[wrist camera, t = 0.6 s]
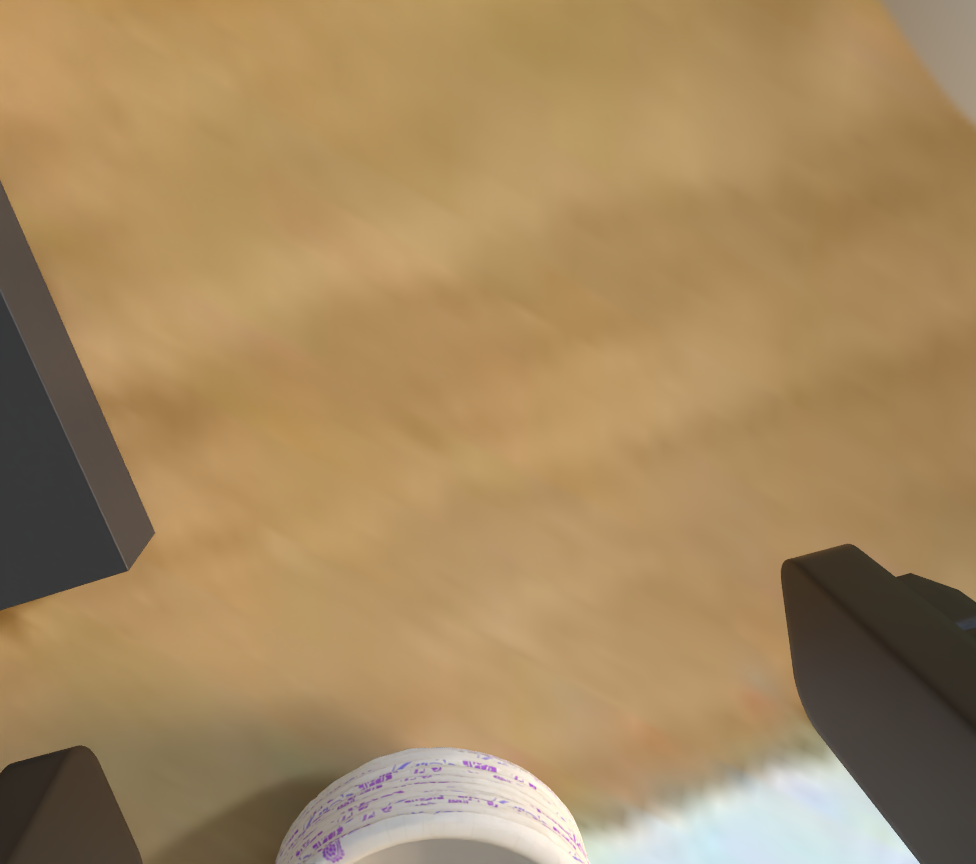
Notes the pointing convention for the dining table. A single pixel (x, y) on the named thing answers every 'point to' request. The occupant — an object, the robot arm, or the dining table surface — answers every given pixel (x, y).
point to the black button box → (53, 448)
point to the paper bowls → (435, 815)
